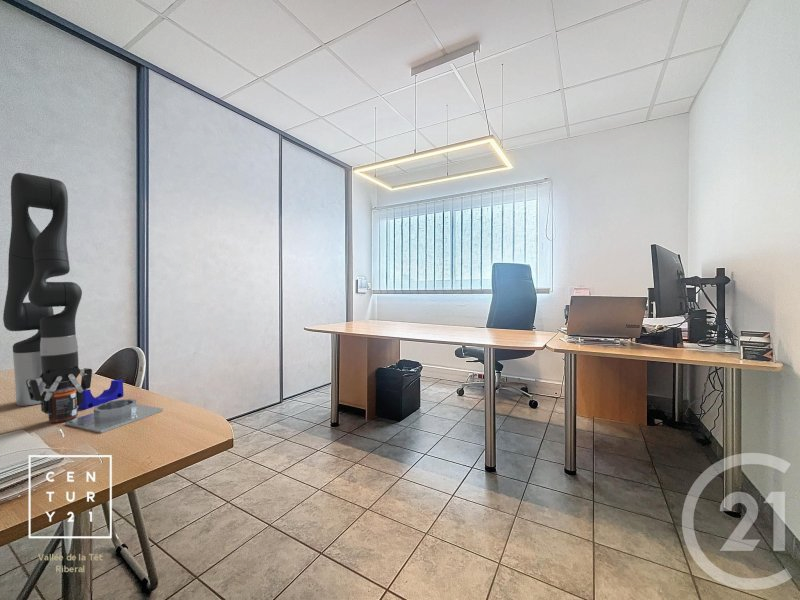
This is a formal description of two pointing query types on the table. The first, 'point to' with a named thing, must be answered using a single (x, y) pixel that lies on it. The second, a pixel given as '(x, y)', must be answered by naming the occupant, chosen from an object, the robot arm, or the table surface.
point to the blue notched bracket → (102, 395)
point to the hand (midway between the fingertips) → (63, 408)
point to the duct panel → (114, 423)
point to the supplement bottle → (63, 403)
